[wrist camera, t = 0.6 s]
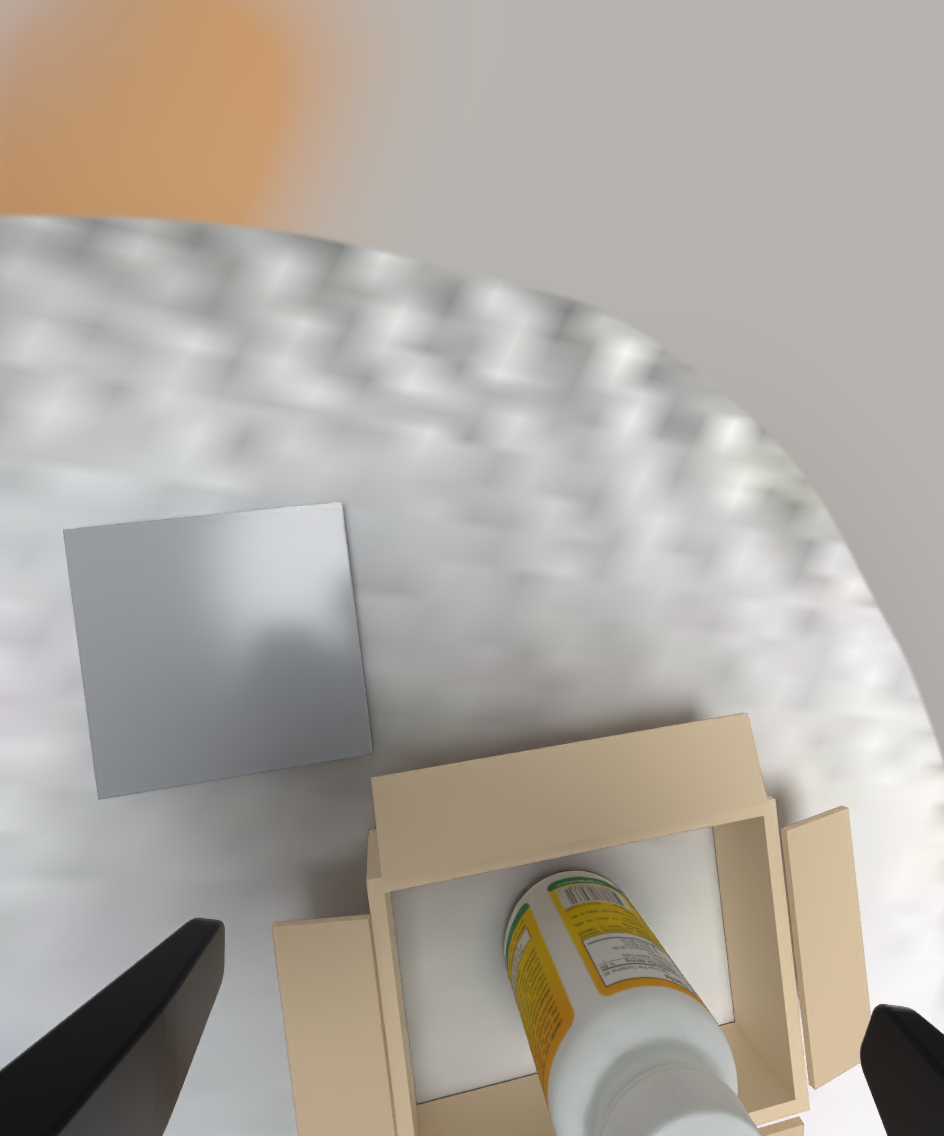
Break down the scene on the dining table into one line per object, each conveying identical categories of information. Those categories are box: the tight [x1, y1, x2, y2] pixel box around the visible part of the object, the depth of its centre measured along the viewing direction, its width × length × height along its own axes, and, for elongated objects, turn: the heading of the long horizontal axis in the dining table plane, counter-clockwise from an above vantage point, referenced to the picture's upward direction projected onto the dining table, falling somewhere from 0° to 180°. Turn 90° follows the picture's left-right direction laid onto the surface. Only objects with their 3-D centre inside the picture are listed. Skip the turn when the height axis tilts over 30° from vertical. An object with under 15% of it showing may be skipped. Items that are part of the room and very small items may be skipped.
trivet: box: [63, 502, 372, 800], centre depth 20 cm, size 9×9×1 cm
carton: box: [272, 713, 871, 1136], centre depth 21 cm, size 17×20×4 cm
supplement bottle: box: [504, 871, 762, 1136], centre depth 18 cm, size 5×5×10 cm
